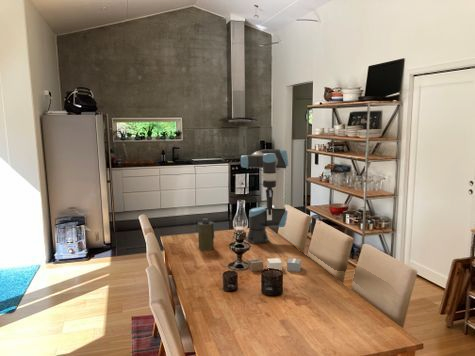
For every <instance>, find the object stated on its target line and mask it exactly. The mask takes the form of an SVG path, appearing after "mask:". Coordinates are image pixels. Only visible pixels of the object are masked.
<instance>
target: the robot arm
mask: <svg viewBox="0 0 475 356" xmlns="http://www.w3.org/2000/svg"><path fill="white" fill-rule="evenodd" d="M288 155H289V154H288V151H287V150H286V149H279V148H278V149H276V148H275V149H274V148H273V149H260V150H257V151H254V152H253V153H252V154H248V155H247V154H244V155H241V156H240V166H241V168H245V169H249V168H250V169H251V168H254V169H255V168H256V169H257V168H258V169H260V168H261V169H262V174H261V176H262V179H263V181H262V186H263V187H264V188H266V189H265V195H266V207H260V206H259V207H252V208H251V209H249V212H248V213H249V214H248V224H249V225H248V226H249V227H248V233H247V236H246V241H247V242H248V243H250V244H259V245H260V244H264V243H268V242H269V236H268V233H267V228H268V227H270V228H284V227H285V226H286V224H287V219H288V213H289V211H288V210H286V207H285V206H284V196H285V195H284V191H285V189H284V188H285V187H284V186H285V171H286V170H287V167H289V156H288ZM266 227H267V228H266Z"/></svg>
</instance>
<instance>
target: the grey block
mask: <svg viewBox="0 0 475 356" xmlns="http://www.w3.org/2000/svg"><path fill="white" fill-rule="evenodd" d="M301 269H302V259H300V258H295V257H293V258H290V257H289V258H288V259H287V262H286V271H287V272H298V273H299V272H300V271H301Z"/></svg>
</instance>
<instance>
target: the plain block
mask: <svg viewBox="0 0 475 356" xmlns="http://www.w3.org/2000/svg"><path fill="white" fill-rule="evenodd" d="M266 261H267V262H266V263H267V264H266V266H267V269H268V268H274V269H279V270H281V271H283V262H282V261H281V259H280V258H278V257H275V258H267V259H266ZM281 271H280V272H281Z"/></svg>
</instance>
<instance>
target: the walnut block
mask: <svg viewBox="0 0 475 356" xmlns="http://www.w3.org/2000/svg"><path fill="white" fill-rule="evenodd" d="M247 268H248V269H249V270H250V272H257V271H263V270H264V261H263V260H262V259H261V258H260V257H253V258H251V257H250V258H247Z"/></svg>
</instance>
